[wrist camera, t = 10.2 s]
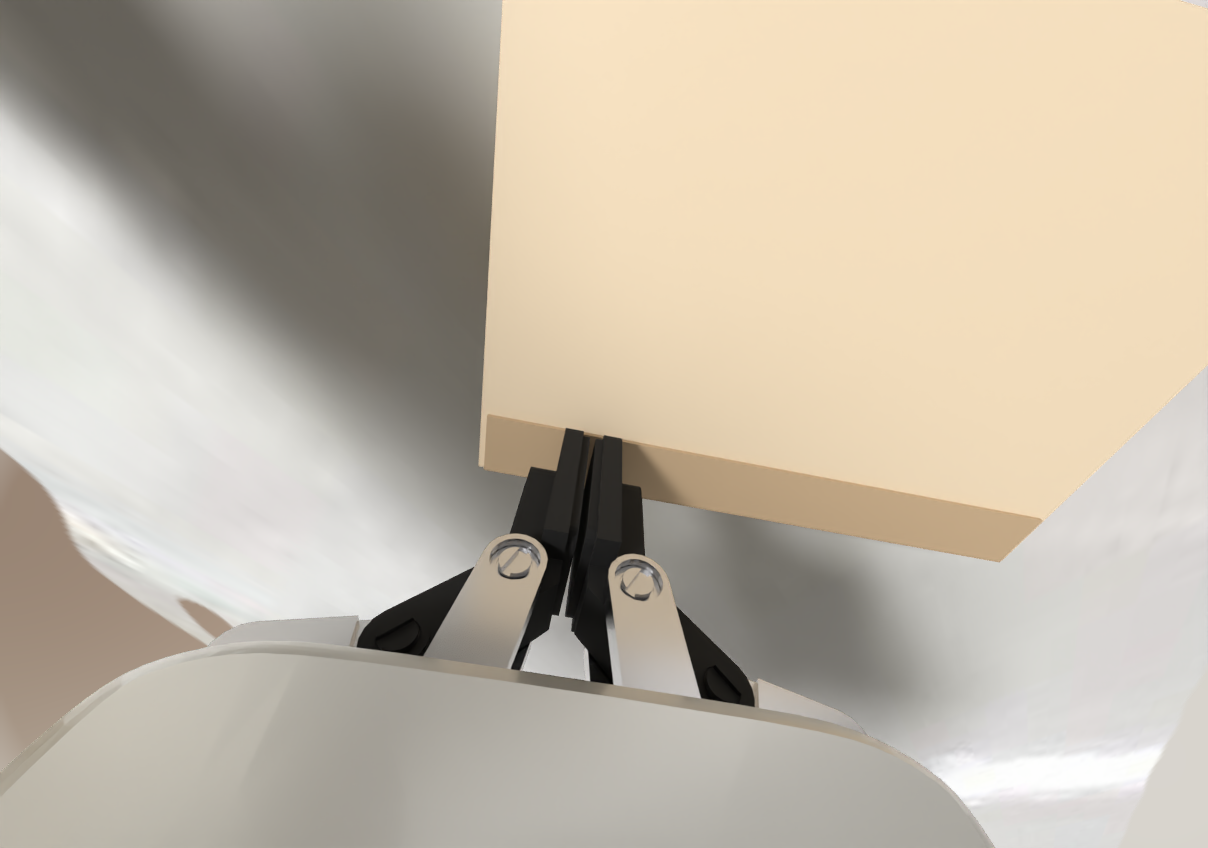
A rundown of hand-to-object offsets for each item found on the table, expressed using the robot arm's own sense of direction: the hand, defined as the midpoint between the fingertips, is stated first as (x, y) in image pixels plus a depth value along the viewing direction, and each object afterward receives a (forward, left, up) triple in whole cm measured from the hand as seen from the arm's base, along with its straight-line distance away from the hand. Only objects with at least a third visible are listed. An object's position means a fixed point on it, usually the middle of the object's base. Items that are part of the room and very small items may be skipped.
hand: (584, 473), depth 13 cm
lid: (+6, +6, -1) cm, 8 cm away
